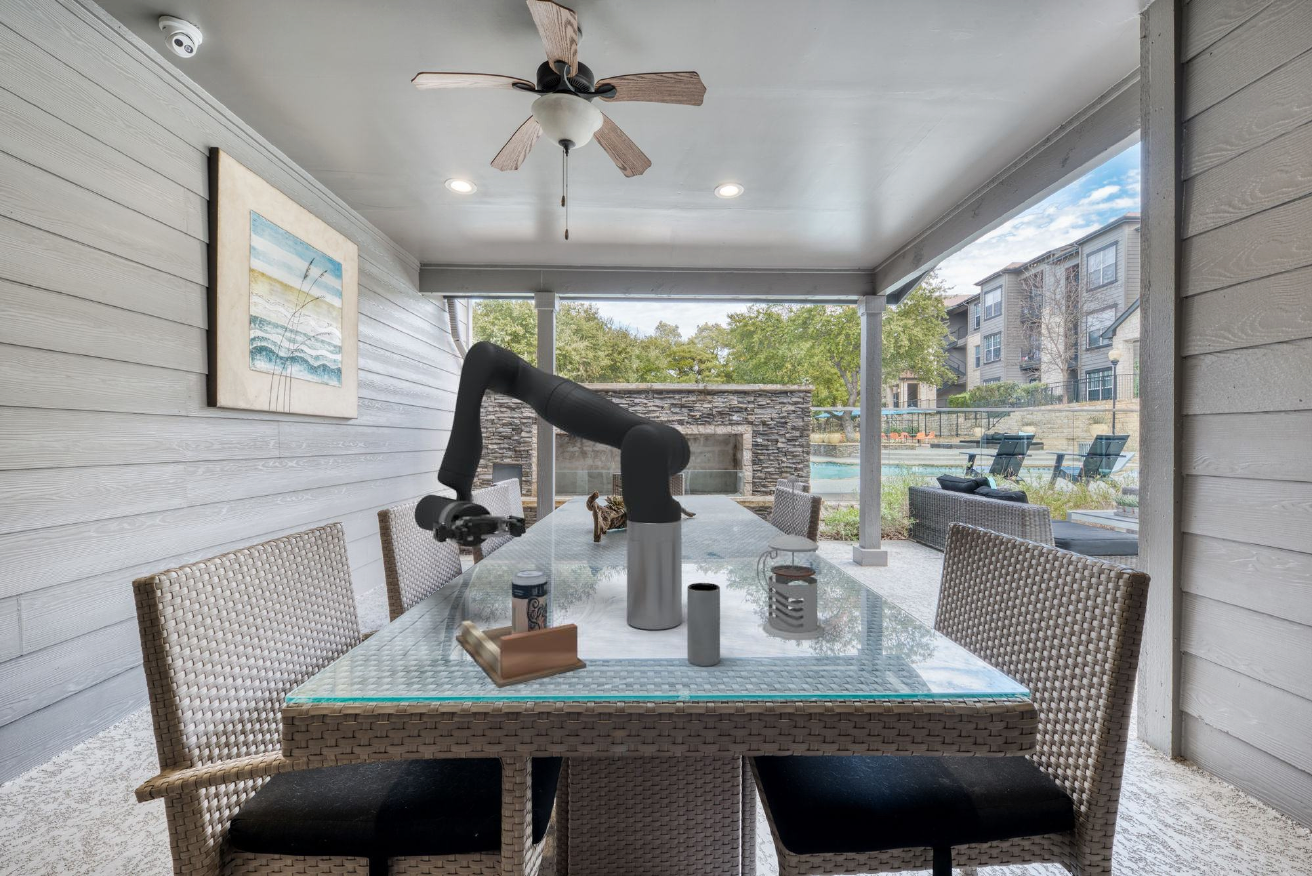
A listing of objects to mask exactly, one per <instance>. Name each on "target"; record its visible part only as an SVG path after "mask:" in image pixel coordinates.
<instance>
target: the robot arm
mask: <svg viewBox="0 0 1312 876" xmlns="http://www.w3.org/2000/svg"><path fill="white" fill-rule="evenodd" d="M458 383H459V384H458V389H457V396H456V401H455V408H454V415H453V421H452V427H451V429H450V430H451V431H450V435H449V438H448V442H447V445H446V448H445V451H444V454H443V457H442V460H441V464H440V466H439V468H438V472H437V481H438V482H439V483H440V484H441V485H443V486H444V487H447V488H450V489H451V490H453V491H455V493H456V497H455V499H454V498H451V497H445V496H441V495H438V494H437V495H436V494H426V495H425V496H423V497H422V498H421V499H420V500H419V501H417V504H416V507H415V509H414V521H415V523H416V525H417V526H418V528H421V529H423V530H424V531H430V532H433V533H432V535H433V539H434V540H435V541H437V542H438V543H441V544H443V543H445V542H447V539H448V540H449V541H450V542H453V543H455V544H458V545H459V546H462V547H465V548H466V547H467V548H474V547H477V546H480V545H482V544H483V543H485V542H486V541H487V540H488V539H490V538H499V539H500V538H504V537H506V536H512V537H515V538H521V537H522V535H524V534H527V532H526V531H527V530H526V526H527V525H526V521H527V519H526V518H525V517H521V516H515V515H511V514H510V515H509V516H508V515H507V518H506V516H504V515H503V516H502V515H500V516H498V515H492V514H491V512H490V511H489V510H488V509H487V507H485V506H484V505H481V504H478V503H476V502H471V501H472V490H473V484H474V481H475V478H476V477H475V476H476V475H477V471H478V469H479V465H480V462H481V459H482V456H483V449H484V448H483V447H484V442H483V441H484V440H483V439H484V438H483V432H482V431H483V430H482V422H481V408H482V403H483V399H484V396H485V394H486V391H491V392H494V393H496V394H500V395H504V396H507V397H510V398H513V399H515V400H518V401H520V402H523V403H525V404H526V405H528V406H530V407H531V408H532V410H534V411H535V413H536V414H537V415H538V416H539V417H540V418H541V419H542V420H543V421H545V422H547V423H548V424H550V425H551V426H553V427H555V428H557V429H559V430H561V431H562V432H564V433H567V434H569V435H571V436H573V437H576V438H579V439H583V440H586V441H590V442H593V443H596V444H600V445H604V446H608V447H611V448H614V449H617V450H620V457H619V460H620V462H619V463H620V479H621V480H620V483H621V498H622V502H623V505H624V508H625V511H626V593H627V594H626V622H627V624H628V625H629V626H631V627H634V628H638V629H641V630H642V629H643V630H666V629H671V628H674V627H677V626H679V625H680V624H682V616H683V613H682V612H683V611H682V610H683V609H682V608H683V606H682V605H683V603H682V601H683V600H682V598H683V590H682V588H683V575H682V573H683V569H682V568H683V567H682V563H683V561H682V559H683V558H682V554H683V553H682V547H683V546H682V540H683V539H682V505H681V503H680V502H679V501H677V500H676V499H675V498H674V497H673V495H672V493H671V487H670V478H671V477H674V476H676V475H679V474H680V473H682V472H683V471H684V470H685V469H686V468H687V466H688V465H689V463H690V460H691V453H692V451H691V446H690V444H689V441H688V440H687V438H686V436H685V435H684V434H683V433H682V431H680V430H678V429H677V428H676V427H674V426H671V425H669V424H665V423H662V422H659V421H656V420H654V419H651V418H647V417H644V416H643V415H639V414H637V413H634V412H632V411H630V410H628V409H626V408H625V407H623V406H621V405H619V404H618V403H616V402H614V401H612V400H611V399H609V398H608V397H605V396H604V395H601V394H599V393H597V392H595V391H594V390H591V389H590V388H588V387H586V386H584V385H582V384H580V383H578V382H575V381H573V380H572V379H568V378H567V377H564V376H561V375H558V374H552V373H547V372H545V371H543V370H541V369H539V368H537V367H536V366H534V365H533V364H531V363H529V361H526V359H524V358H523V357H521V356H520V355H518V354H517V353H515V352H514V351H512V350H509V349H507V348H505V347H503V346H500V345H499V344H496V343H493V342H490V341H488V340H487V341H486V340H482V341H477V342H475V343H474V344H473V345H471V346H470V347H469V349H468V351H467V352H466V354H465V357H464V359H463V363H462V367H461V371H460V377H459V382H458Z"/></svg>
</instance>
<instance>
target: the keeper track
mask: <svg viewBox="0 0 1312 876" xmlns="http://www.w3.org/2000/svg"><path fill="white" fill-rule="evenodd" d="M455 640H456V642H458V643H459V644H460V646H461V647H462V648H463V649H464V650H465V651H466V652H467V653H468V654H469V656H470V657H471V658H472V659H473V660H474V661H475V663H476V664H478V665H479V667H480V668H481V669H482V670H483V671H484V672H485V674H486V675H487V676H488V677H489V678H490V679H491V680H492V682H493V683H494V684H495V685H496V686H497V687H498V688H504V687H508V686H513V685H515V684H516V685H517V684H521V683H524V682H529V681H533V680H537V679H541V678H546V677H550V676H554V675H557V674H563V673H567V672H571V671H575V670H579V669H584V668H587V663H586V662H585V661H584V660H582V659H581V658H580V657H578V652H579V651H578V647H579V646H578V625H576V624H575V623H568V624H564V625H563V624H562V625H557V626H551V627H548V626H547V628H546V629H541V630H535V631H530V632H525V633H519V634H514V635H512V625H508V626H502V627H496V628H490V629H486V630H480V629H479V628H478V627H477V626H476V625H475V624H474V623H473V622H472V621H471V620H464V621H461V634H458V635H457V634H456V635H455Z"/></svg>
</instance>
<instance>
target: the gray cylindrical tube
mask: <svg viewBox="0 0 1312 876" xmlns="http://www.w3.org/2000/svg"><path fill="white" fill-rule="evenodd" d="M686 591H687V594H686V595H687V596H686V597H687V602H686V603H687V606H686V607H687V608H686V609H687V614H686V615H687V628H686V629H687V640H686V641H687V649H686V650H687V651H686V652H687V661H688V662H689V663H690V664H692V665H693V666H694V665H695V666H699V667H711V666H715V665H717V664H719V663H720V661H721V587H720V585H718V584H715V583H711V582H710V583H709V582H694V583H691V584H689V585H688V586H687V590H686Z"/></svg>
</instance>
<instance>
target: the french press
mask: <svg viewBox="0 0 1312 876" xmlns="http://www.w3.org/2000/svg"><path fill="white" fill-rule="evenodd" d="M786 482H787V483H789V484H792V485H791V487H792V488H791V489H792V496H791V499H792V500H791V501H792V502H791V503H792V504H791V505H792V508H791V509H792V511H791V513H792V515H791V516H792V519H791V521H792V524H791V526H792V530H791V531H792V533H790V534H786V535H783V536H778V537H775V538H773V539H772V540H770V541H769V542H767V546H768V547H769V548H770V549H772V550H769V549H768V550H766V551H764V552H762V554H760V556H759V558H758V560H757V564H756V576H757V580H758V584H759V586H760V587H761V588H762V590H763V591H764V592H765V593H766V594H767V596H768V621H766V622H765V623H764V624H763V625H762V629H761V630H762V631H763V632H765V633H766V634H768V635H770V636H772V637H775V638H780V639H784V640H793V641H808V640H809V641H810V640H814V639H819V638H821V637H822V636H824V635H825V631H823V630H824V629H823V628H822V627H821V625H819V624H818V579H817V578H816V577H814V575H816V573H817V572H816V570H815V568H812V567H811V566H804V565H798V564H795V563H794V562H795V558H794V556H795V555H794V554H795V553H809V552H816V551H818V549H819V548H820V546H819V544H817V543H816V542H815V541H814V540H811V539H810V538H808V537H805V536H802V535H801V536H800V535H797V534H795V533H794V531H795V529H794V527H795V525H794V524H795V523H794V522H795V520H794V518H795V517H794V516H795V515H794V514H795V513H794V511H795V509H794V508H795V507H794V506H795V505H794V503H795V502H794V501H795V498H794V496H795V495H794V494H795V493H794V489H795V488H794V487H795V485H794V484H797V483H798V484H799V482H800V481H799V477H798V476H796V475H793V474H792V475H789V476H788V477H787V480H786ZM774 551H775V556H774V557H772V552H774ZM778 551H779V552H780V551H781V552H789V553H792V554H791V555H792V556H791V557H792V559H791V563H792V564H790V565H788V564H780V565H774V566H772V567H771V568H770V572H771V573H772V574H774V575H775V578H774V579H775V581H773V575H771V576H768V581H767V578H766V573H765V569H766V567H765V566H766V560H767V557H768V556H769V557H770V559H771V560H775V559H776V558H778ZM765 554H766V555H765ZM764 555H765V557H764V560H763V564H762V565H763V567H762V568H763V569H762V574H763V577H764V580H765V583H766V584H765V585H767V587H768V591H767V590H766V589H765V587H764V586H763V585H762V583H761V580H760V575H759V564H760V561H761V559H762V557H763V556H764ZM800 581H801V582H803V583H807V584H790V583H793V582H800ZM774 598H775V600H773V599H774ZM789 599H792V600H791V601H789ZM774 606H775V607H774ZM773 614H775V616H773ZM823 634H824V635H823ZM818 637H819V638H818Z"/></svg>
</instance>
